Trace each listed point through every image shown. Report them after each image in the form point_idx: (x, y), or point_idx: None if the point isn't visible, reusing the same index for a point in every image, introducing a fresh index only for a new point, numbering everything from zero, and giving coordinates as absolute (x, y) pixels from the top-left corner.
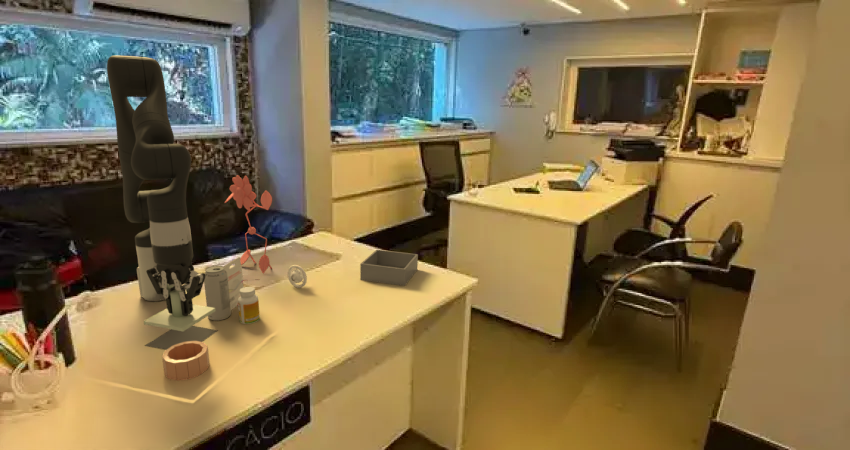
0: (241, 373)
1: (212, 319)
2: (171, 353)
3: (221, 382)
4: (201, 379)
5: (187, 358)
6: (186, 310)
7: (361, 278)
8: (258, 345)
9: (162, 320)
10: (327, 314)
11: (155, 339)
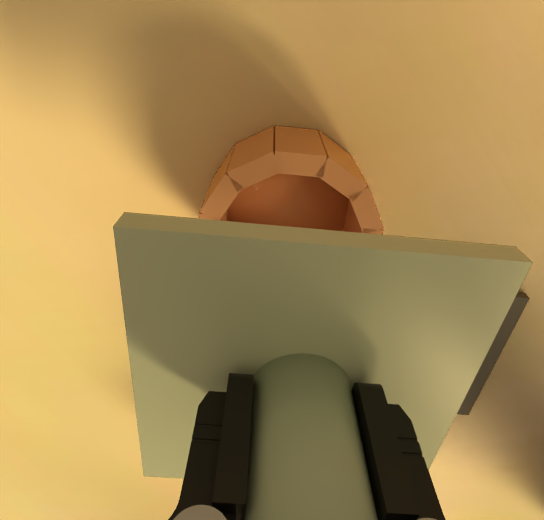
0: (88, 225)
1: None
2: (357, 232)
3: (114, 162)
4: (199, 164)
5: None
6: (216, 415)
7: None
8: None
9: (375, 298)
10: (80, 503)
11: (507, 333)
